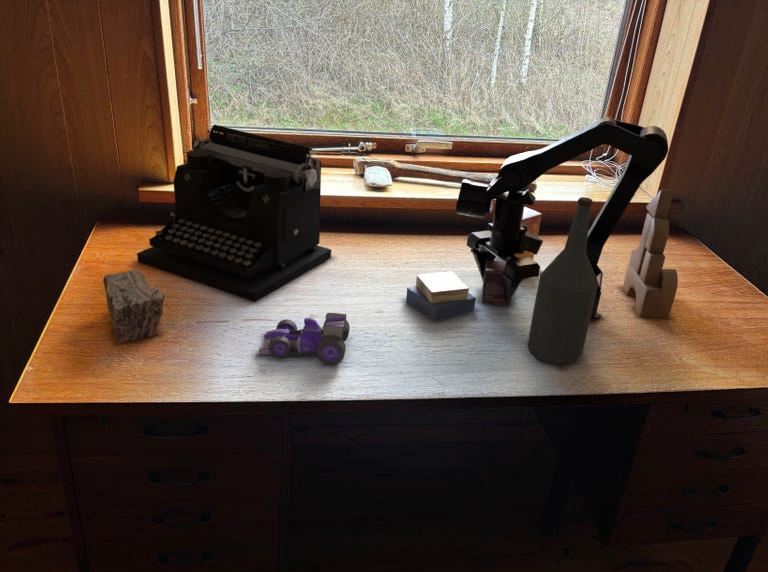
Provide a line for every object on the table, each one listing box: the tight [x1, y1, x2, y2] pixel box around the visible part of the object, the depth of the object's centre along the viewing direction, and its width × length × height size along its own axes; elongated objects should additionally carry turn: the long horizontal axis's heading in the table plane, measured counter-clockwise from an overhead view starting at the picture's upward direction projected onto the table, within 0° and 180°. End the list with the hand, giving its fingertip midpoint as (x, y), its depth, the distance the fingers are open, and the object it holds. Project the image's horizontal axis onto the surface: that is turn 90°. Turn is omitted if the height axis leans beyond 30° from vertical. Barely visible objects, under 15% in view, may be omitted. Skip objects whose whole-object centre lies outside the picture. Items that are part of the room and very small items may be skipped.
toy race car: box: [258, 312, 351, 366], centre depth 131 cm, size 10×15×6 cm, turn 89°
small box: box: [494, 206, 543, 262], centre depth 168 cm, size 8×6×13 cm
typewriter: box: [136, 124, 332, 303], centre depth 156 cm, size 31×27×25 cm
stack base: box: [405, 285, 477, 322], centre depth 151 cm, size 10×10×3 cm
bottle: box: [526, 196, 599, 367], centre depth 131 cm, size 10×10×30 cm
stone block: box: [102, 269, 166, 344], centre depth 134 cm, size 14×9×8 cm, turn 29°
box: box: [481, 260, 512, 306], centre depth 154 cm, size 6×6×7 cm
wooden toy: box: [622, 189, 679, 319], centre depth 155 cm, size 16×7×25 cm, turn 2°
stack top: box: [415, 271, 470, 303], centre depth 149 cm, size 8×8×2 cm
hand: (496, 291), depth 156 cm, fingers closed on box, 8 cm apart
